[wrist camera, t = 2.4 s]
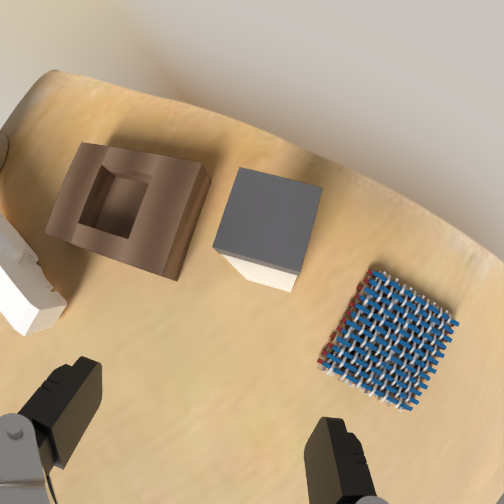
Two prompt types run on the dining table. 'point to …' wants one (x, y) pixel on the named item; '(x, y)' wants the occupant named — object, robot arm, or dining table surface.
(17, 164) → the dining table surface
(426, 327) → the woven mat
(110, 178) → the brown square socket block
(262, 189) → the grey-capped white post
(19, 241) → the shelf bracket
